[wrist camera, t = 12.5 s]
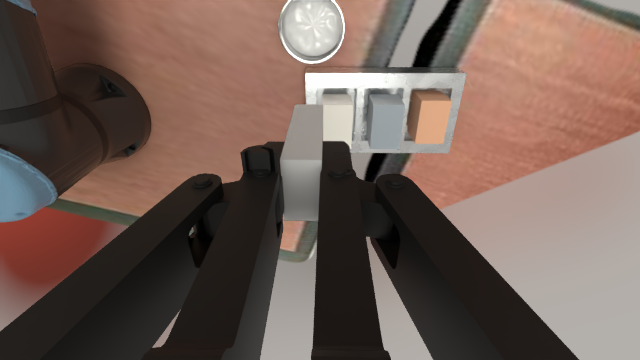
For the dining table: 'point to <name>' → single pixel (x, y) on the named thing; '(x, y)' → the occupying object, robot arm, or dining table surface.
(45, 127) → the robot arm
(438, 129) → the orange block
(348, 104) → the cream block
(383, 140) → the slate key
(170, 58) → the dining table surface
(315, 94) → the grey tray
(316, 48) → the beer glass
